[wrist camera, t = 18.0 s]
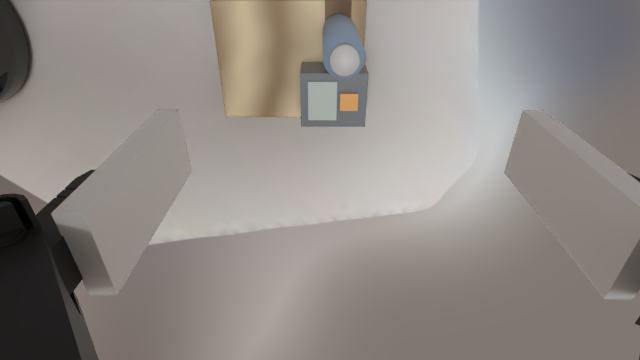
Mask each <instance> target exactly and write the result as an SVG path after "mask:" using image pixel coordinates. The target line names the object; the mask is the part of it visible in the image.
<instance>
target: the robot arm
mask: <svg viewBox="0 0 640 360" xmlns="http://www.w3.org/2000/svg"><path fill="white" fill-rule="evenodd" d="M28 65H29V56H28V48H27V43H26V39H25V36H24V33H23V30H22V28H21V25H20V23H19V21H18V19H17V17H16V15H15V13H14V12H13V10H12V8H11V7H10V5H9V4H8V2H7V1H6V0H0V102H3V101H5V100H7V99H9V98H10V97H12V96H13V95H14V94H15V93H16V92H17V91H18V90H19V89H20V88H21V86H22V85H23V83H24V81H25V79H26V76H27V72H28ZM190 173H191V167H190V162H189V157H188V152H187V148H186V143H185V138H184V134H183V129H182V124H181V120H180V115H179V110H178V109H158V110H157V111H156V112H155V113H154V114H153V115H152V116H151V117H150V118H149V119H148V120H147V121H146V122H145V123H144V124H143V125H142V126H141V127H140V128H139V129H138V130H137V131H136V132H135V133H134V134H133V135H131V136H130V137H129V138H128V139H127V140H126V141H125V142H124V143H123V144H122V145H121V146H120V147H119V148H118V149H117V150H116V151H115V152H114V153H113V154H112V155H111V156H110V157H109V158H108V159H107V160H106V161H105V162H104V163H103V164H101V165H100V166H99V167H98V168H97V169H96V170H90V171H88V172H86V173H85V174H83V175H81V176H79V177H77V178H76V179H74V180H73V181H72V182H71V183H70V184H69V185H68V186H67V187H66V188H65V190H63V191H61V192H60V193H59V194H58V195H57V198H54V199H53V200H52V201H51V202H50V203H48V204H47V205H46V206H45V207H44V208H43V209H42V210H41V211H40V212H39V213H38V214H37V215H35V213H34V211H33V210H32V207H31V206H30V204H29V202H28V200H27V198H26V197H25V196H24V195H20V194H3V195H0V360H98V357H97V354H96V351H95V348H94V345H93V342H92V340H91V336H90V334H89V331H88V328H87V325H86V322H85V319H84V316H83V313H82V310H81V308H80V305H79V302H78V299H77V297H76V295H75V293H74V289H75V288H76V287H77V285H78V284H79V283H80V281H81V280H83V282H84V284H85V286H86V289H87V291H88V293H89V295H118V293H119V291H120V290H121V288H122V286H123V285H124V283H125V281H126V279H127V278H128V276H129V275H130V273H131V271H132V270H133V268H134V266H135V265H136V263H137V261H138V260H139V258H140V256H141V255H142V253H143V251H144V250H145V248H146V246H147V245H148V243H149V241H150V240H151V238H152V236H153V235H154V233H155V231H156V230H157V228H158V226H159V225H160V223H161V221H162V220H163V218H164V216H165V215H166V213H167V211H168V210H169V208H170V206H171V205H172V203H173V201H174V200H175V198H176V196H177V195H178V193H179V191H180V190H181V188H182V186H183V185H184V183H185V181H186V180H187V178H188V176H189V175H190ZM504 173H505V174H506V176H507V177H508V178H509V179H510V180H511V182H512V183H513V184H514V186H515V187H516V188H517V189H518V191H519V192H520V193H521V194H522V196H523V197H524V198H525V199H526V201H527V202H528V203H529V204H530V206H531V207H532V208H533V210H534V211H535V212H536V213H537V215H538V216H539V217H540V218H541V220H542V221H543V222H544V223H545V225H546V226H547V227H548V228H549V230H550V231H551V232H552V233H553V235H554V236H555V237H556V239H557V240H558V241H559V242H560V243H561V245H562V246H563V247H564V249H565V250H566V251H567V252H568V254H569V255H570V256H571V257H572V259H573V260H574V261H575V263H576V264H577V265H578V266H579V268H580V269H581V270H582V271H583V273H584V274H585V275H586V276H587V278H588V279H589V280H590V281H591V282H592V284H593V285H594V286H595V288H596V289H597V290H598V291H599V293H600V294H601V295H602V297H603V298H604V299H634V297H635V296H636V294H637V293H638V291H639V290H640V178H638V177H635V176H633V175H631V174H629V173H627V172H625V171H624V170H623V169H621V168H620V167H619V166H617V165H616V164H614V163H613V162H612V161H610V160H609V159H608V158H607V157H605V156H604V155H603V154H601V153H600V152H598V151H597V150H596V149H595V148H593V147H592V146H590V145H589V144H588V143H586V142H585V141H584V140H582V139H581V138H580V137H578V136H577V135H576V134H574V133H573V132H572V131H570V130H569V129H567V128H566V127H565V126H563V125H562V124H561V123H560V122H558V121H557V120H556V119H554V118H553V117H552V116H550V115H549V114H548V113H546V112H545V111H544V110H523V111H522V114H521V118H520V121H519V124H518V128H517V131H516V134H515V138H514V141H513V145H512V148H511V152H510V155H509V158H508V162H507V165H506V168H505V172H504ZM635 324H638V325H640V317H639V318H638V320H637V321H636V322H635ZM639 360H640V357H639Z"/></svg>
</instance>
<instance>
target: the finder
mask: <svg viewBox="0 0 640 360" xmlns="http://www.w3.org/2000/svg"><path fill="white" fill-rule="evenodd" d="M367 86H368V71H367V69H366V66H365V63H364V66H363V68H362V69H361V71H360V72H359V73H358V74H357V75H355V76H354V77H351V78H348V79H339V78H336V77H334V76H332V75H331V74H329V73H328V72H327V70H326V69H325V67H324V64H323V62H302V64H301V69H300V102H301V126H347V127H365V115H366V100H367Z"/></svg>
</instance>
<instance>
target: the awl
mask: <svg viewBox="0 0 640 360" xmlns="http://www.w3.org/2000/svg"><path fill="white" fill-rule="evenodd" d="M365 58H366V55H365V50H364V47H363V45H362V42H361V40H360V37H359V35H358V33H357V30H356V28H355V25H354V23H353V21H352V20H351V18H350V17H348V16H347V15H345V14H340V13H338V14H334V15H332V16H330V17H329V18H328V19H327V20H326V21H325V23H324V25H323V64H324V67H325V69H326V70H327V72H328V73H329V74H331V75H332V76H334V77H336V78H339V79H348V78H351V77H354V76H355V75H357V74H358V73H359V72H360V71H361V69H362V68H363V66H364V63H365Z"/></svg>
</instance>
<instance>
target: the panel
mask: <svg viewBox="0 0 640 360" xmlns="http://www.w3.org/2000/svg"><path fill="white" fill-rule="evenodd" d="M210 6H211V13H212V20H213V27H214V34H215V41H216V48H217V55H218V62H219V69H220V76H221V83H222V90H223V98H224V105H225V112H226V116H235V117H301V102H300V69H301V64H302V62H323V25H324V23H325V21H326V20H327V19H328V18H329V17H330V16H332V15H334V14H338V13H340V14H345V15H347V16H348V17H350V18H351V20H352V21H353V23H354V25H355V28H356V30H357V33H358V35H359V37H360V40H361V42H362V45H363V47H364V35H365V17H366V0H211V1H210Z"/></svg>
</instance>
